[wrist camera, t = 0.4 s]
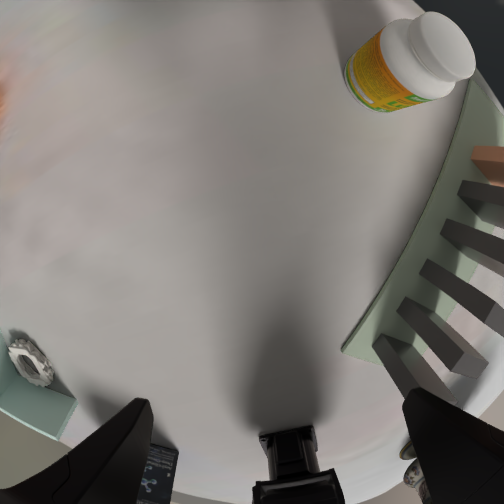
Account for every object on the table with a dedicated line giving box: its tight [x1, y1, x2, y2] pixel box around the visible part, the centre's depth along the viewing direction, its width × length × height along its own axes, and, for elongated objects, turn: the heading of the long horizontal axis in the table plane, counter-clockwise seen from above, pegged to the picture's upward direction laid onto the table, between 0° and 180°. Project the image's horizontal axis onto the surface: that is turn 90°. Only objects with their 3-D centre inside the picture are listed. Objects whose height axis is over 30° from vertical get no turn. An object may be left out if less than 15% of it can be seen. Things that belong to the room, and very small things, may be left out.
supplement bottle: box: [344, 12, 476, 113], centre depth 12 cm, size 5×5×10 cm
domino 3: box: [440, 218, 504, 277], centre depth 16 cm, size 2×5×9 cm, turn 64°
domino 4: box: [419, 258, 504, 337], centre depth 17 cm, size 2×5×9 cm, turn 64°
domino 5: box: [396, 296, 489, 379], centre depth 18 cm, size 2×5×9 cm, turn 64°
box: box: [136, 444, 179, 504], centre depth 23 cm, size 8×6×11 cm
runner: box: [341, 79, 504, 366], centre depth 20 cm, size 30×10×1 cm, turn 154°
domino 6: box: [372, 333, 458, 406], centre depth 19 cm, size 2×5×9 cm, turn 64°
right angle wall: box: [0, 329, 78, 441], centre depth 20 cm, size 12×12×8 cm
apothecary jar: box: [400, 441, 433, 504], centre depth 23 cm, size 12×12×18 cm
